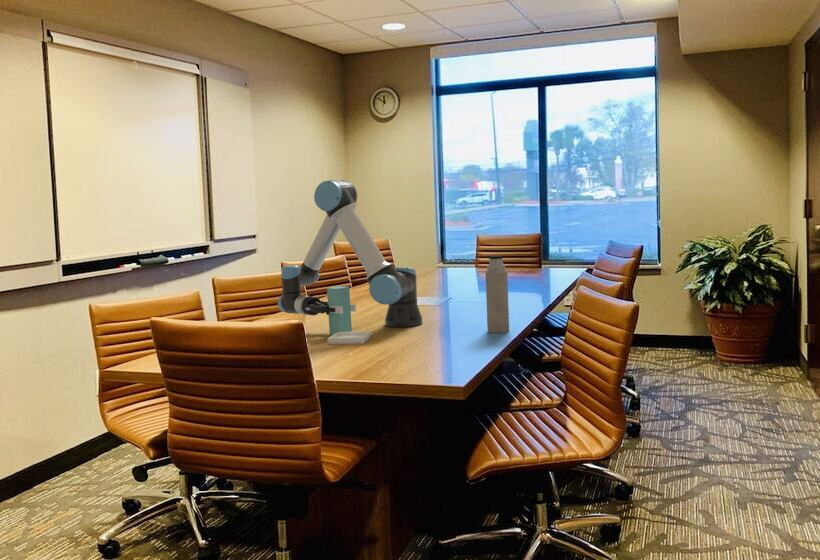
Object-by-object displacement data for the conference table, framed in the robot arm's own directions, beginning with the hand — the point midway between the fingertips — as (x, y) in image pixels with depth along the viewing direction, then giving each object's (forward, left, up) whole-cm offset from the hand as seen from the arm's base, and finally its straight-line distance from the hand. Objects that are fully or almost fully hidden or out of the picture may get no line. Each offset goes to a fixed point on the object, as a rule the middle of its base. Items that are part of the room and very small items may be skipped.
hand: (348, 309), depth 280 cm
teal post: (+4, -3, -10) cm, 11 cm away
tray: (-3, +10, -10) cm, 15 cm away
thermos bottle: (-56, -4, -10) cm, 57 cm away
